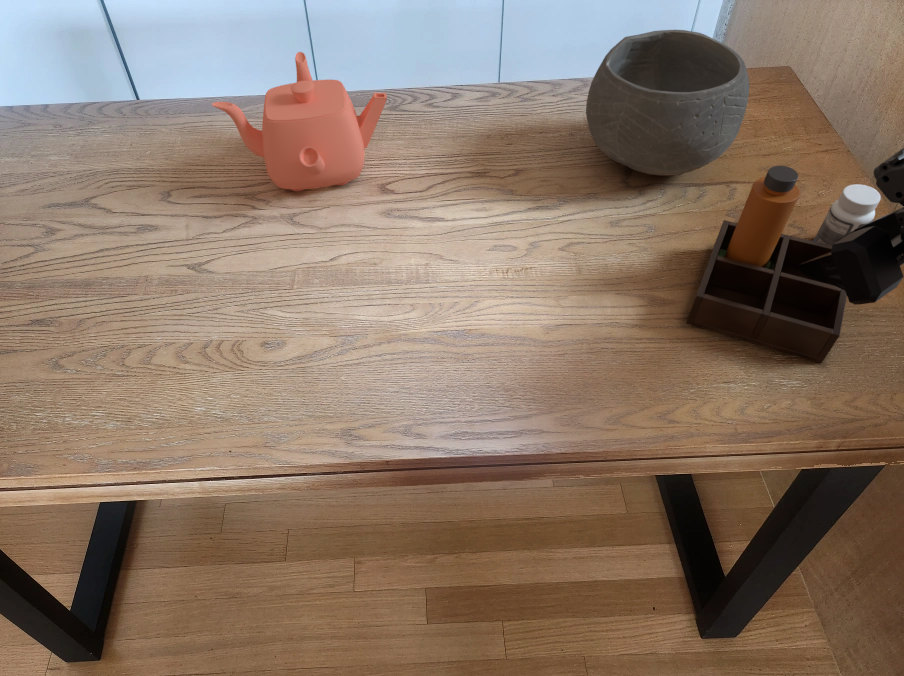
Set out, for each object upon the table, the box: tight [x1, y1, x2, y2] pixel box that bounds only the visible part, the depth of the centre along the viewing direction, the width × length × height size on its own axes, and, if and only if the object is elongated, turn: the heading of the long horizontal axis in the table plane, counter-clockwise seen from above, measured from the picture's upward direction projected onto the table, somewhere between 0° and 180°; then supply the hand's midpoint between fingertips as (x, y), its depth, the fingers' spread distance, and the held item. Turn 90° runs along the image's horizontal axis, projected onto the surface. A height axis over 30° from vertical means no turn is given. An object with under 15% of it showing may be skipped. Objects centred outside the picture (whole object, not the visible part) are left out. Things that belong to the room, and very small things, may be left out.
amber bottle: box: [724, 165, 801, 268], centre depth 77 cm, size 5×5×14 cm
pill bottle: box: [813, 183, 882, 245], centre depth 81 cm, size 5×5×8 cm
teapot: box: [211, 51, 388, 192], centre depth 98 cm, size 18×18×14 cm
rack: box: [685, 219, 848, 364], centre depth 78 cm, size 15×15×5 cm
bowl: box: [585, 29, 750, 176], centre depth 94 cm, size 21×21×15 cm
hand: (828, 251), depth 71 cm, fingers open, 9 cm apart
